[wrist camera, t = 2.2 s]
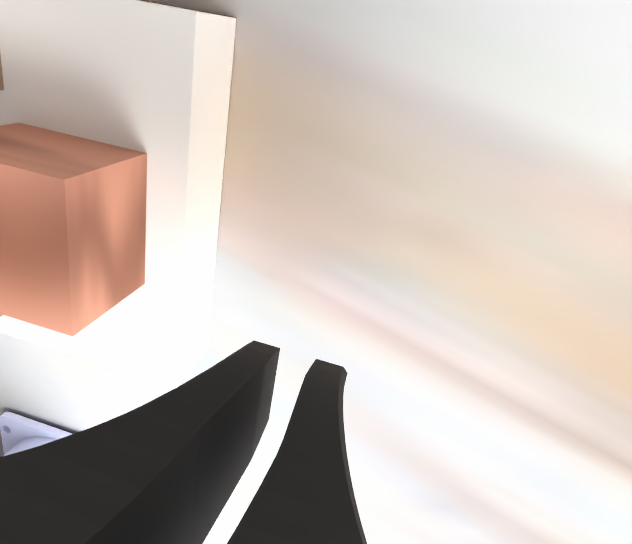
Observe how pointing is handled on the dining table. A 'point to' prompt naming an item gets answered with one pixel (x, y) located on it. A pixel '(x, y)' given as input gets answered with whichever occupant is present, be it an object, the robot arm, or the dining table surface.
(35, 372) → the dining table surface
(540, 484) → the dining table surface
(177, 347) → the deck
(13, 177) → the block
